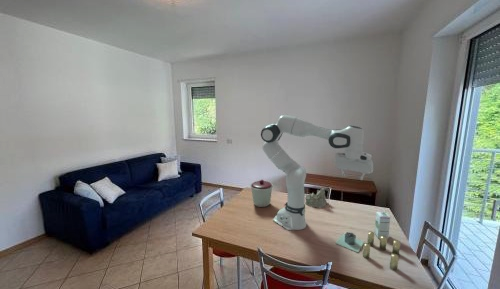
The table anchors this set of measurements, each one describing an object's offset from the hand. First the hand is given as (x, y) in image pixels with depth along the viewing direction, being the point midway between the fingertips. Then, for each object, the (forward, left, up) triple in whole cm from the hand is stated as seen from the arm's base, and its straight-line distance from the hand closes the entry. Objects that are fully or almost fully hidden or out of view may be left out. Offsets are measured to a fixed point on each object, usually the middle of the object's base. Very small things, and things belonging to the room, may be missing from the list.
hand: (352, 177), depth 120 cm
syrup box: (+15, +13, -37) cm, 42 cm away
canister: (-67, -1, -37) cm, 77 cm away
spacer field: (+18, -6, -37) cm, 42 cm away
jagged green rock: (-35, +30, -38) cm, 59 cm away
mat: (+3, -6, -37) cm, 38 cm away
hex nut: (+3, -6, -37) cm, 37 cm away
